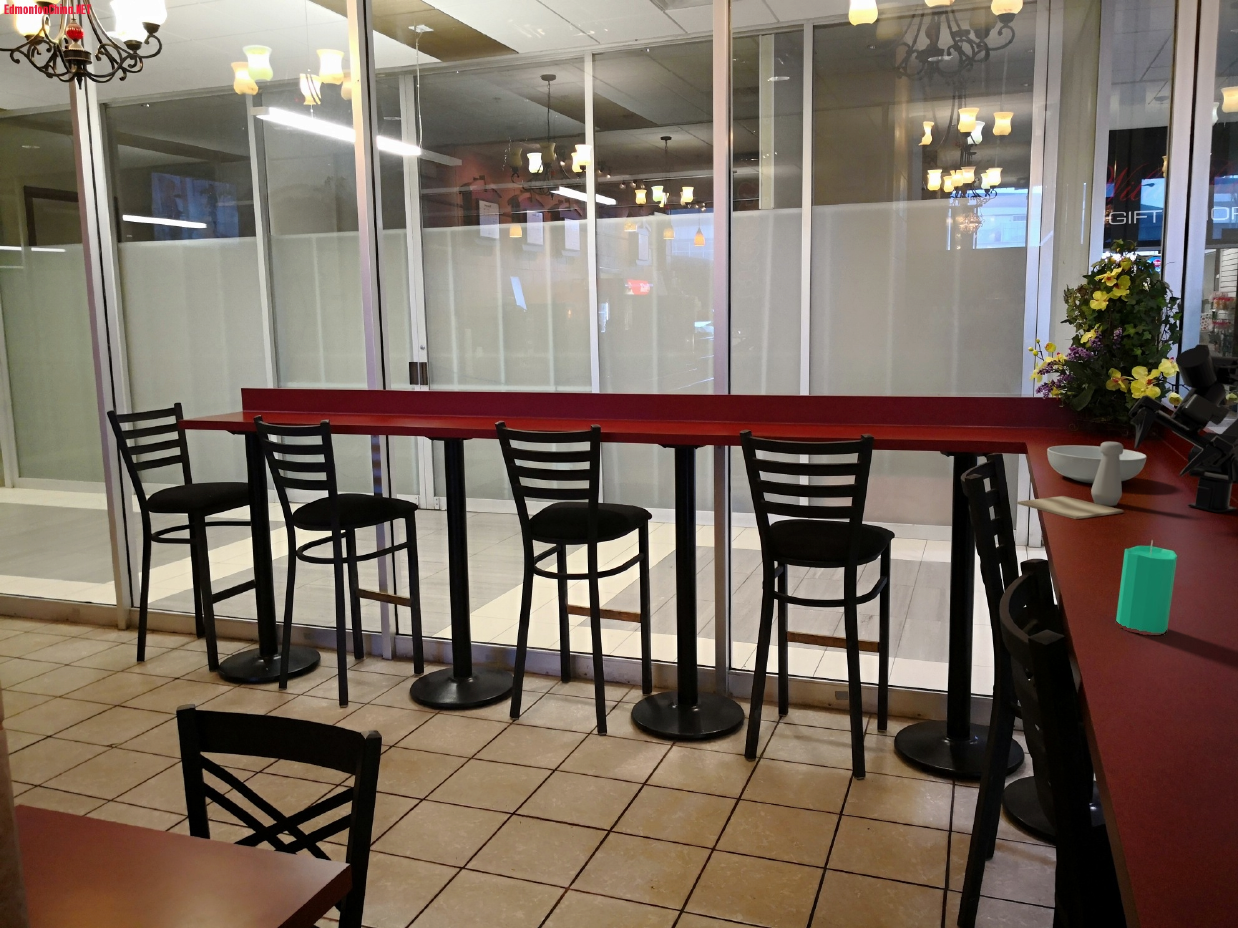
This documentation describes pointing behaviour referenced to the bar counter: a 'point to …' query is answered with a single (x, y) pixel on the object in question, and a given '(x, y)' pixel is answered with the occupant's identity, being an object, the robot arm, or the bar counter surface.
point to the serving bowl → (1091, 462)
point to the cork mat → (1070, 507)
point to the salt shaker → (1108, 475)
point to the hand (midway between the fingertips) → (1158, 461)
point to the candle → (1146, 588)
